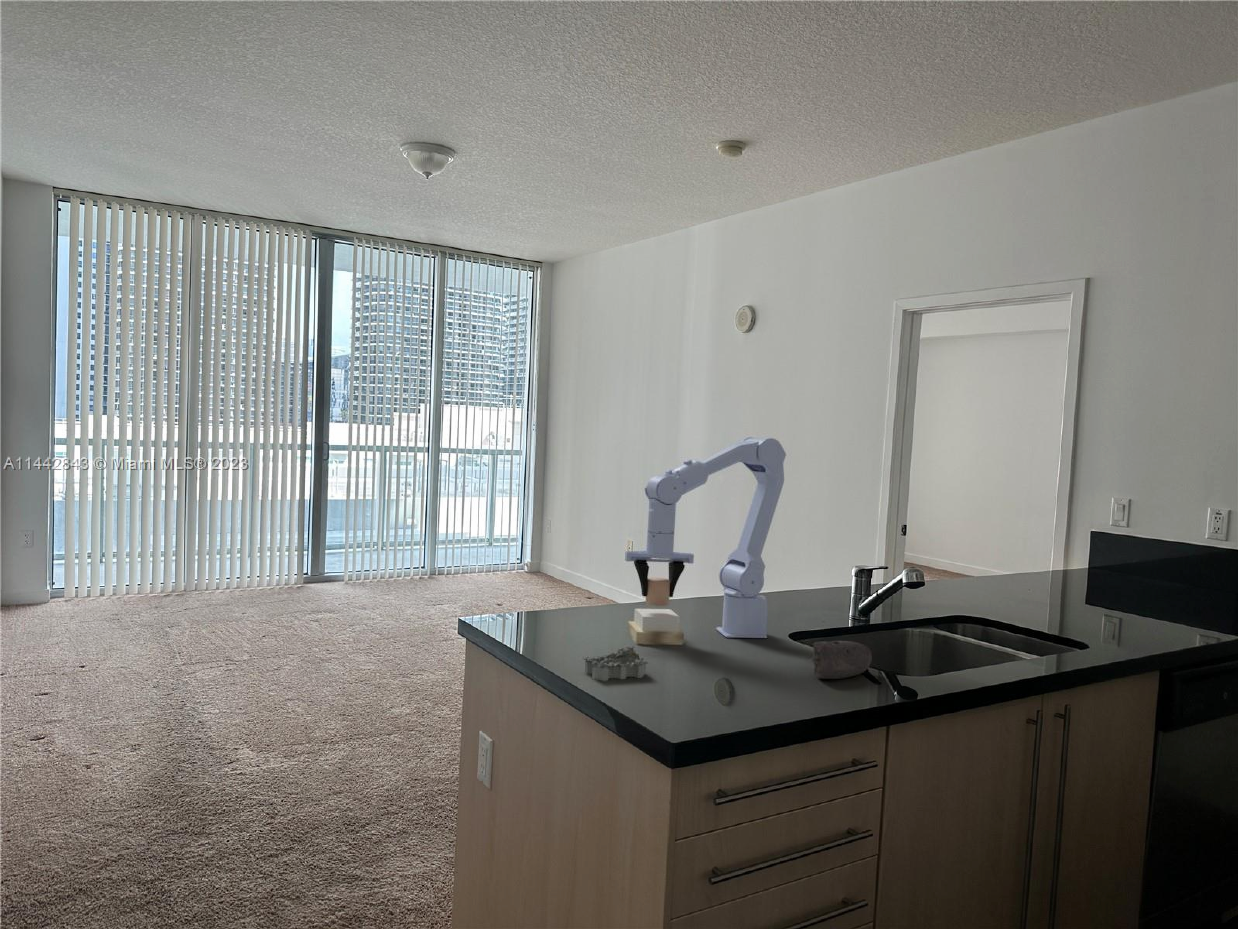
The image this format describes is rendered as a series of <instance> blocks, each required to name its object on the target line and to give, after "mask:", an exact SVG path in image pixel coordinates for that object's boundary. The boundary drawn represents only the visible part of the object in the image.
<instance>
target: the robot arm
mask: <svg viewBox="0 0 1238 929" xmlns="http://www.w3.org/2000/svg"><path fill="white" fill-rule="evenodd" d="M786 456H787V453H786V451H785V449H784V448H783V445H782V444H781V443H780V441H779V440H778V439H776V438H774V437H768V438H757V437H756V438H755V437H745V438H744V439H742V440H738V441H735V442H734V443H733V444H731V445H729V446H728V447H725V448H724V449H722V450H721V451H718V452H717V453H715V454H714V455H713V454H712V456H710V457H708V458H706V459H704V460H702V461H700V460H697V459H686V460H684V461H683V465H680V466H678V467H676V468H674V469H667V470H665V474H664V475H655V476H653V477H651V478H650V479H649V481H648V482H647V485H646V487H644V493H645V496H646V497H647V500H648V514H647V516H648V519H647V520H648V521H647V537H646V549H645V550H637V551H636V550H633V551H632V550H631V551H630V550H626V551H625V552H624V553H625V554H624V561H626V562H633V564H634V567H635V570H636V572H637V576H638V579H639V583H640V588H641V596H643V597H646V596H647V579H648V578H649V570H650V566H649V563H650V562H652V563H668V580H670V594H669V598H673V597H674V593H675V589H676V586H677V584H678V582H679V578H680V577H681V575H682V573H683V572H684V571H685V568H686V567H685V566H686V565H685V563H686V564H693V565H694V562H695V560H694V559H695V555H694V554H693V553H690V552H689V553H688V552H675V551H674V547H675V546H674V545H675V544H674V543H675V529H676V528H675V527H676V511H677V510H676V508H677V503H678V502H679V501H680V500H681V498H682V496H683V495H686V494H687V493H689V492H692V491H693V490H695V489H697V488H700V487H701V486H702V485H704V484H705V485H706V483H707V481H708V478H709V476H711V475H713V474H716V473H717V472H719V471H722V470H724V469H726V468H729V467H732V466H734V465H736V464H738V463H742V464H743V465H744V466H745V467H746V468H747V469H748V470H749V471H750V472H751V473H752V474H753V476H754V478H755V480H756V482H757V483H756V484H757V485H756V488H755V491H754V494H753V498H752V500H751V504H750V507H749V510H748V512H747V513H748V514H747V516H746V520H745V523H744V526H743V528H742V532H741V536H740V539H739V542H738V543H737V544H738V545H737V548H736V549H734V550H733V551H732V552H731V553H730V554H729V555H728V557H727V560H726V561H725V563H724V564H723V565H722V567H721V568H720V570H719V574H718V578H719V583H720V584H721V585H722V587H723V604H722V605H723V606H722V626H717V627H716V628H715V629H716V630H717V631H718V632H719V633H720V634H721V635H722V636H724V637H725V638H736V639H737V638H741V639H742V638H747V639H748V638H750V639H751V638H752V639H757V638H758V639H767V638H768V635H767V624H768V601H767V598H766V596H764V595H761V594H760V595H759V593H760V592H761V591H762V589H763V587H764V585H765V584H764V583H765V577H764V572H765V569H766V564H765V562H764V561H763V558H762V554H763V549H764V547H765V543H766V542H767V537H768V534H769V531H770V527H771V525H772V521H773V518H774V515H775V512H776V508H777V506H778V502H779V499H780V496H781V494H782V490H783V486H784V483H785V470H784V462H785V459H786ZM648 562H649V563H648Z"/></svg>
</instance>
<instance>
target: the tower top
mask: <svg viewBox="0 0 1238 929" xmlns="http://www.w3.org/2000/svg"><path fill="white" fill-rule="evenodd" d="M633 614H634V617H633V621H634V623H635V624H636V625H637V626H638V627H639V628H640V629H641V630H642V631H680V630H681V629H680V628H681V616H679V615H678V614H677V613H676V612H674V611H673V610H672V609H670V608H669V609H668V608H634V613H633Z"/></svg>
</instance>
